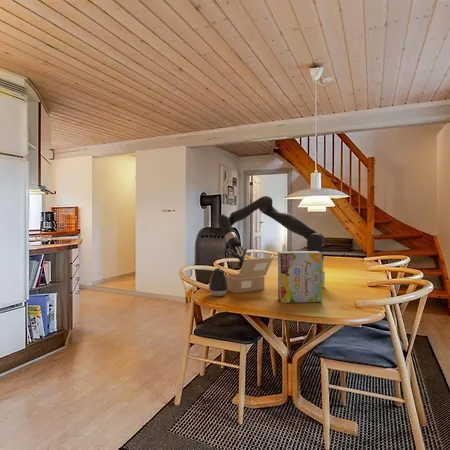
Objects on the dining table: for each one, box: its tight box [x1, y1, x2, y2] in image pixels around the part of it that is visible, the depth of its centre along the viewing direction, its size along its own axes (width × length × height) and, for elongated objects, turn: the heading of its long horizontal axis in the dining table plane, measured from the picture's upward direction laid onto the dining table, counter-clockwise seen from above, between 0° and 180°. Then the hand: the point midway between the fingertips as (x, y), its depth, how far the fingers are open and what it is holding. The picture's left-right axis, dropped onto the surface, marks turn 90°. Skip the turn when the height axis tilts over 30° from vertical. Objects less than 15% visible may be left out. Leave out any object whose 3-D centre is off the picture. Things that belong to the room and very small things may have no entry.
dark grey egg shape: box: [208, 267, 228, 297], centre depth 183 cm, size 10×10×15 cm
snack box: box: [277, 250, 323, 304], centre depth 172 cm, size 22×9×26 cm, turn 92°
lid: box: [237, 256, 274, 279], centre depth 189 cm, size 14×20×1 cm
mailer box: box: [225, 273, 265, 294], centre depth 199 cm, size 14×20×8 cm
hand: (243, 262), depth 200 cm, fingers closed
